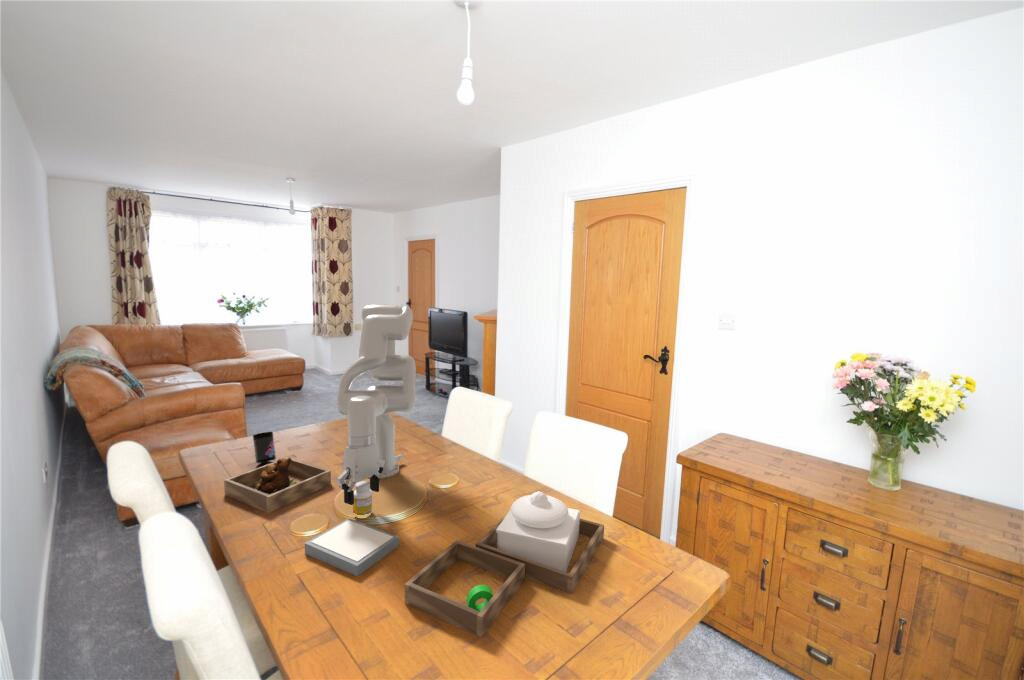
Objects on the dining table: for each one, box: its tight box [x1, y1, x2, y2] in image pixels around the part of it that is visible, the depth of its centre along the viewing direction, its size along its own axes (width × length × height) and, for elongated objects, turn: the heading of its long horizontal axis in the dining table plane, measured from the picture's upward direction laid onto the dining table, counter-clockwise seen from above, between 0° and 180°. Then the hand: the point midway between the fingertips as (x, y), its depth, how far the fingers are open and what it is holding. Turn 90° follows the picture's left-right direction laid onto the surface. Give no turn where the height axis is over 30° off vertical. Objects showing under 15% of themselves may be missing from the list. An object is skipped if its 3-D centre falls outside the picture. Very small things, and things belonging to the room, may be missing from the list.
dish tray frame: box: [475, 516, 605, 595], centre depth 115 cm, size 25×25×5 cm
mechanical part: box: [466, 584, 494, 612], centre depth 92 cm, size 12×6×8 cm, turn 105°
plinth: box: [304, 517, 400, 577], centre depth 113 cm, size 14×18×3 cm
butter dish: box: [496, 491, 581, 572], centre depth 116 cm, size 18×18×16 cm
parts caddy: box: [404, 539, 526, 638], centre depth 99 cm, size 19×19×5 cm
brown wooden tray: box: [223, 456, 332, 514], centre depth 145 cm, size 22×22×5 cm
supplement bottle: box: [352, 480, 373, 515], centre depth 130 cm, size 5×5×10 cm
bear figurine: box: [253, 456, 298, 495], centre depth 144 cm, size 14×15×12 cm
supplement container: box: [252, 431, 277, 465], centre depth 165 cm, size 7×7×10 cm
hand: (362, 497), depth 130 cm, fingers open, 9 cm apart
